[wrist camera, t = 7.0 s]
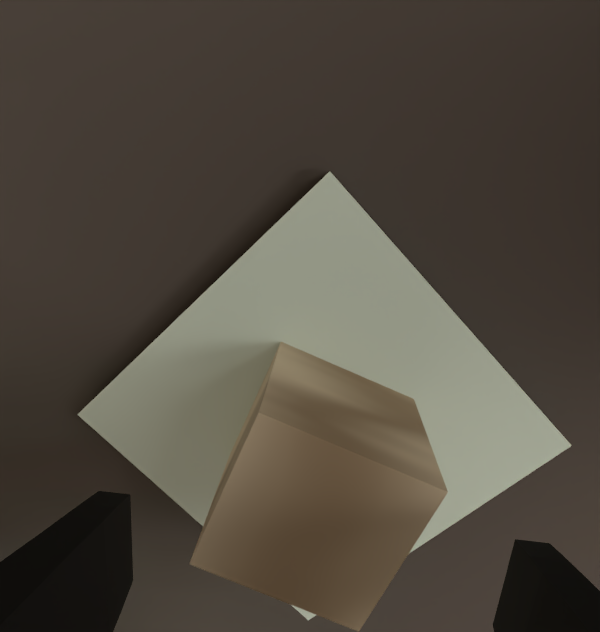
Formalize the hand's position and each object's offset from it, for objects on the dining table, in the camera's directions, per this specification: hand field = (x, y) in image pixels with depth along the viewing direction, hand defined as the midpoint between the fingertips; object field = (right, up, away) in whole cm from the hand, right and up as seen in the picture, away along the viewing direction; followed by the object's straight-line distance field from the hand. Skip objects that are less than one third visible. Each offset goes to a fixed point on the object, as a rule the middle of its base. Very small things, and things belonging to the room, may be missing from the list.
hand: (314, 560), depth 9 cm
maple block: (0, +1, +5) cm, 5 cm away
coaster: (0, +2, +6) cm, 6 cm away
